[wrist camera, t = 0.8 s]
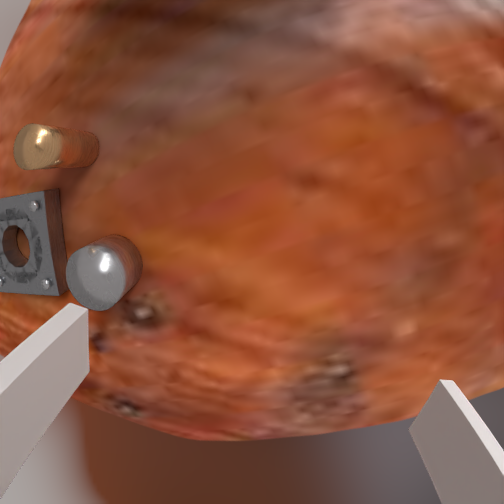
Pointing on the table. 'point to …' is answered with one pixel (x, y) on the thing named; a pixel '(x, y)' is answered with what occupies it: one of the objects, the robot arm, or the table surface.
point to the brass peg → (54, 147)
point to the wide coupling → (103, 271)
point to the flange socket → (33, 244)
